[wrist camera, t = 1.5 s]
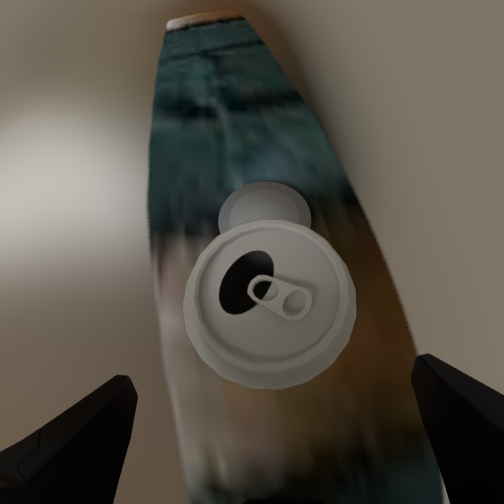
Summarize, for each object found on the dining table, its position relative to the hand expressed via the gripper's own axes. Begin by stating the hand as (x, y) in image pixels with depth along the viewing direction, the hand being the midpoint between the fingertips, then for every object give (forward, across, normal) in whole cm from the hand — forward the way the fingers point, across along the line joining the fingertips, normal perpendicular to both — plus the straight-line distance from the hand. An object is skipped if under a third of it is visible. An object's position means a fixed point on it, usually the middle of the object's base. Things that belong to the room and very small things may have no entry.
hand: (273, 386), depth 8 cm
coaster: (+19, 0, 0) cm, 19 cm away
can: (+12, 0, +7) cm, 14 cm away
